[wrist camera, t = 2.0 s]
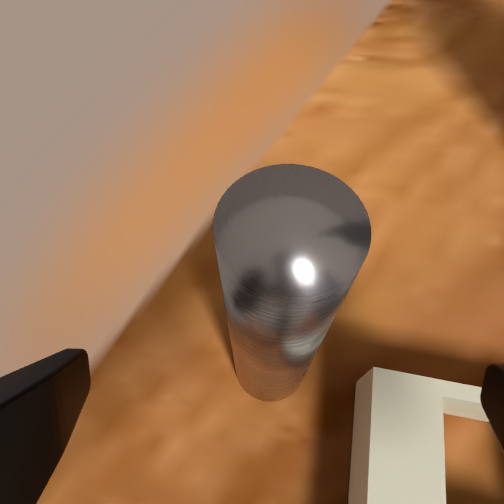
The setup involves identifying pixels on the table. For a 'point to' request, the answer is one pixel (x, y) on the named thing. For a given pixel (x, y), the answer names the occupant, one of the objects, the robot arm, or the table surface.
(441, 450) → the socket board
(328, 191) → the peg
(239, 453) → the table surface
